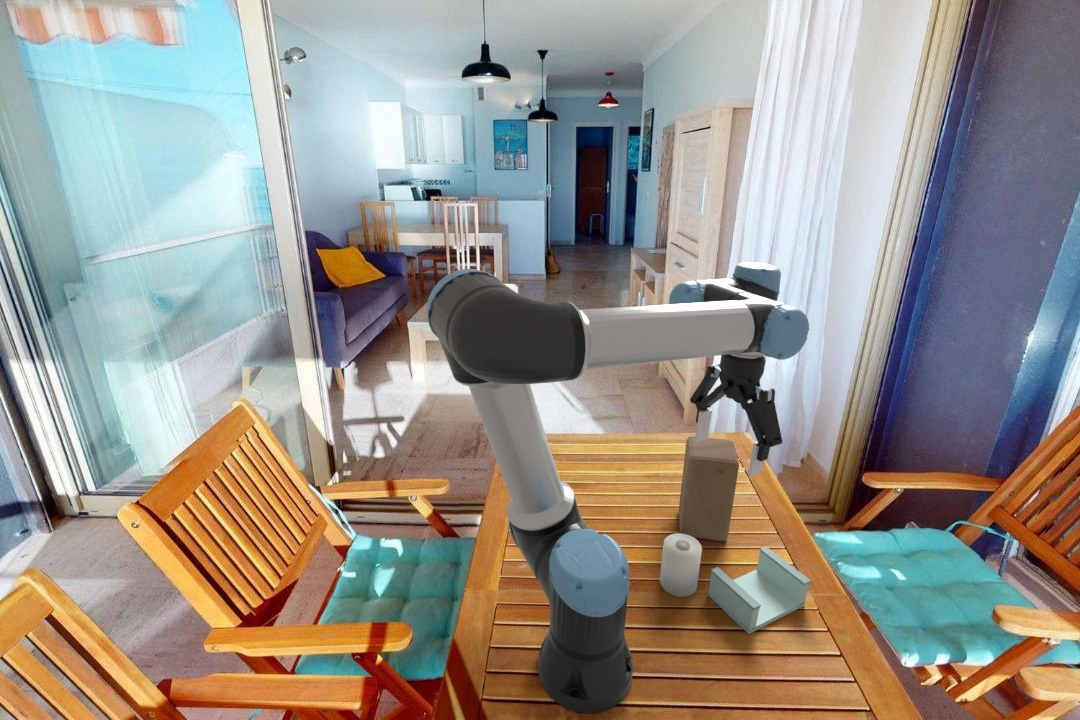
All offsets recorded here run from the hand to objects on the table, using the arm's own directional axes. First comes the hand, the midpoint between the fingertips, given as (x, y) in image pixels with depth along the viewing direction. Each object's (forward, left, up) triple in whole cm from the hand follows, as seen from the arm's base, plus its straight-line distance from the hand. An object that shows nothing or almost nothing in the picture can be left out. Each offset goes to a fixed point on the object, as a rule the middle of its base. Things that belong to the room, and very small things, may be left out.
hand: (726, 456), depth 106 cm
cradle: (-1, -13, -24) cm, 27 cm away
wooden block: (+5, +8, -24) cm, 26 cm away
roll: (-11, -3, -24) cm, 26 cm away
